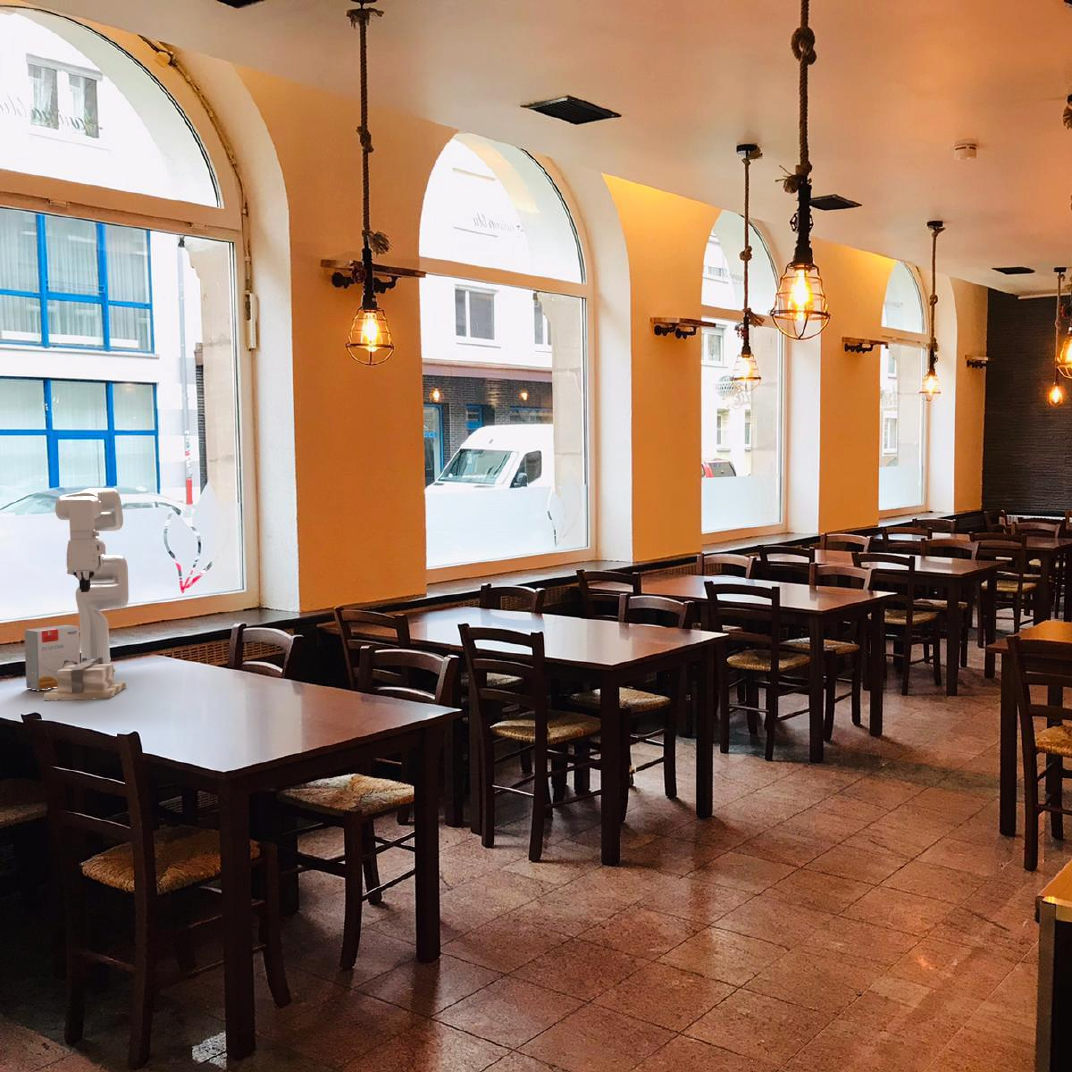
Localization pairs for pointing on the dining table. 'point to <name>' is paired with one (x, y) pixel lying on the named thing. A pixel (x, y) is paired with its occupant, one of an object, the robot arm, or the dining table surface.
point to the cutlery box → (86, 682)
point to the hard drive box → (49, 654)
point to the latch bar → (84, 664)
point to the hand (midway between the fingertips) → (85, 591)
